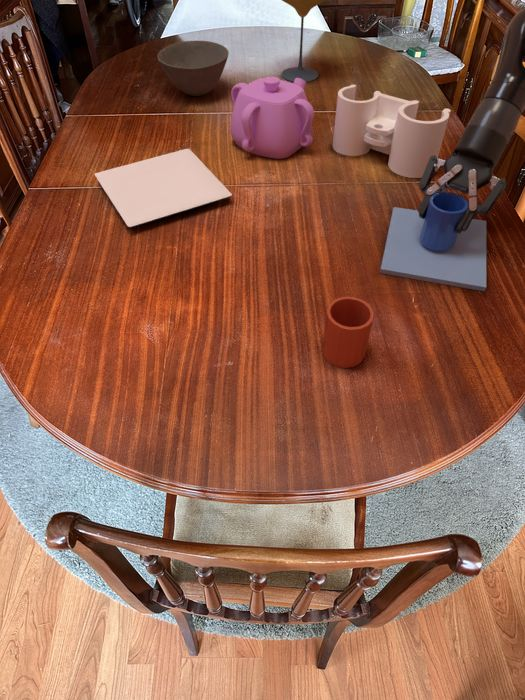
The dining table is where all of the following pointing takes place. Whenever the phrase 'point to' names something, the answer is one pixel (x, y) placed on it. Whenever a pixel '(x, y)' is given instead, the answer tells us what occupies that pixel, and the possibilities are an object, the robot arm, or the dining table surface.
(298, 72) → the cocktail glass
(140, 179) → the plate
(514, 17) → the robot arm
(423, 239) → the blue cup
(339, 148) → the bracket
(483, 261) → the blue mat
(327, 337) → the terracotta cup
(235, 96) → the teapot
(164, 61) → the bowl
